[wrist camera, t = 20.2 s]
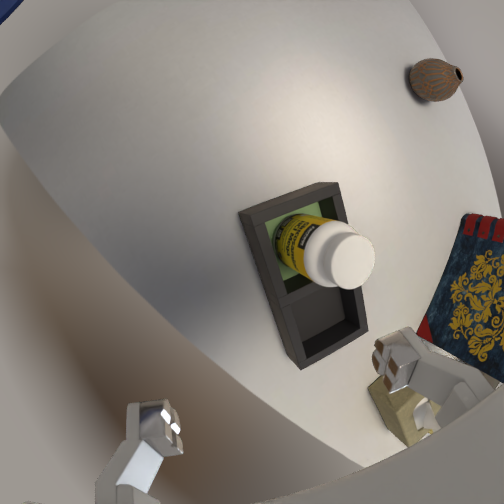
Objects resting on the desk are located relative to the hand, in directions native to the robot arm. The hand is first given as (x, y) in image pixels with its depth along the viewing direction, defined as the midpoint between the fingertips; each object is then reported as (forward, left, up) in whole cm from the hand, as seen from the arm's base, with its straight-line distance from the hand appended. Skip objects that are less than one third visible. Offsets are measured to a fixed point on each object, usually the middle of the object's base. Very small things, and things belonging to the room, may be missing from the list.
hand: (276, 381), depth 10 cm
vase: (-12, +40, -23) cm, 48 cm away
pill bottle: (+3, +11, -22) cm, 25 cm away
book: (+22, +40, -23) cm, 51 cm away
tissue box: (+41, +24, -23) cm, 53 cm away
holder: (+8, +11, -23) cm, 27 cm away
